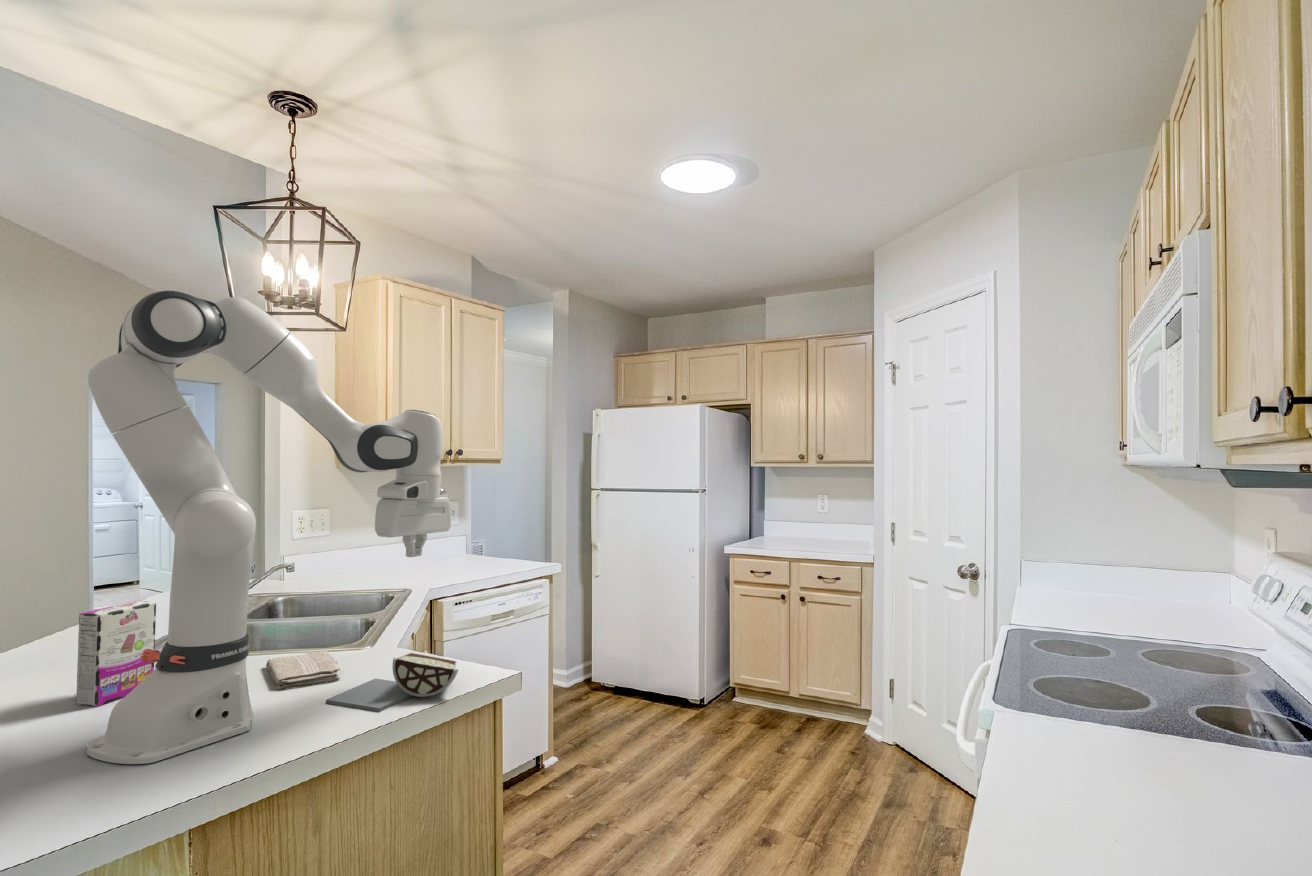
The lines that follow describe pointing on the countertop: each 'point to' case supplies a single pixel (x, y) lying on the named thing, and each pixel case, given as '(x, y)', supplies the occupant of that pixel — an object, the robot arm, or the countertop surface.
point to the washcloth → (303, 669)
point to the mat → (371, 695)
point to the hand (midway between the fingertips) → (413, 556)
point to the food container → (423, 674)
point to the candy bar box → (114, 651)
